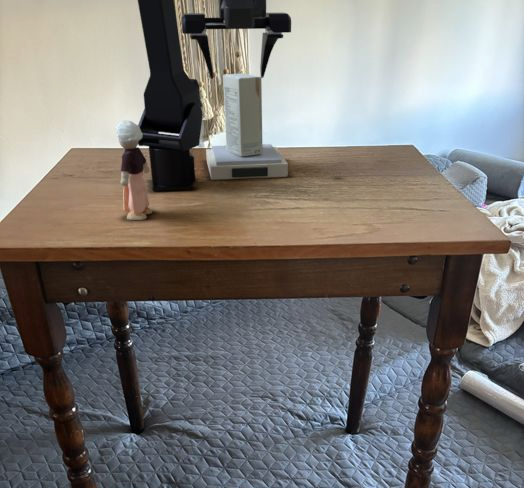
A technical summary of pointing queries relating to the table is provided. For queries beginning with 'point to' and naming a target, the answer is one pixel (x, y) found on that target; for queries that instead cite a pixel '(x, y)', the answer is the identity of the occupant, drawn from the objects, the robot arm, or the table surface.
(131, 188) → the grandmother figurine
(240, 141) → the cosmetic box
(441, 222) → the table surface
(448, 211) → the table surface
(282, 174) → the scale
